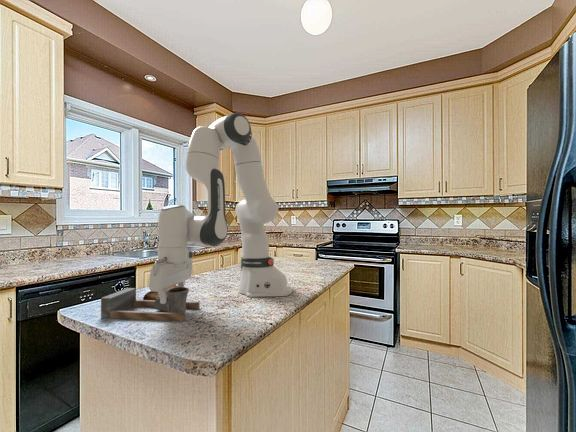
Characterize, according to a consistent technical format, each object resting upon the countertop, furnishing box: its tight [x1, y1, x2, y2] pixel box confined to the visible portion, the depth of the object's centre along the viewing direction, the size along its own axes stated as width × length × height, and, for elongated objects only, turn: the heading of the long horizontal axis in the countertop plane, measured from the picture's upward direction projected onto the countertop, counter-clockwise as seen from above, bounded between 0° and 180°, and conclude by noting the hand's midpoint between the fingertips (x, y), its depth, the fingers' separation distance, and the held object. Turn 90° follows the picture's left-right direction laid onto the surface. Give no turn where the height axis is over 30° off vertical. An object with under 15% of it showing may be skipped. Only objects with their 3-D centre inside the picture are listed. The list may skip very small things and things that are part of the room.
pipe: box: [153, 286, 190, 314], centre depth 92 cm, size 6×13×8 cm, turn 68°
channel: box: [100, 287, 200, 322], centre depth 92 cm, size 26×12×6 cm, turn 84°
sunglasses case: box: [142, 284, 189, 300], centre depth 111 cm, size 18×7×7 cm
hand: (172, 298), depth 92 cm, fingers open, 8 cm apart
